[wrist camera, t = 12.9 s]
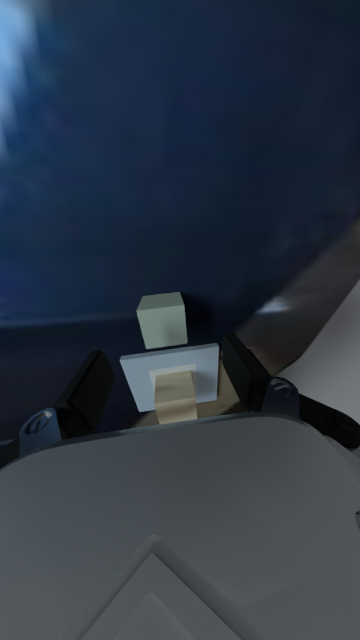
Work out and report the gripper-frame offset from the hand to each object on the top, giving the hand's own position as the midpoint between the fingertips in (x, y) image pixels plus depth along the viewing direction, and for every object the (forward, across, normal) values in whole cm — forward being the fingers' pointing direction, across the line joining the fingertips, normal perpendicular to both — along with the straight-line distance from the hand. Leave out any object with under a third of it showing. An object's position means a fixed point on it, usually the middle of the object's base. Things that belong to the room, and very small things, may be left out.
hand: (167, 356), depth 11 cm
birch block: (+9, 0, +15) cm, 17 cm away
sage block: (+10, 0, +1) cm, 10 cm away
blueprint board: (+10, 0, +15) cm, 18 cm away
